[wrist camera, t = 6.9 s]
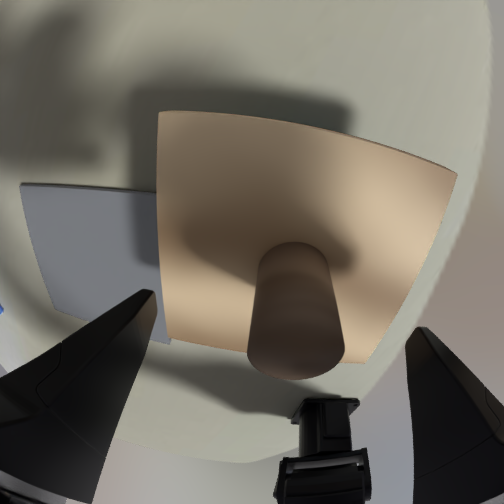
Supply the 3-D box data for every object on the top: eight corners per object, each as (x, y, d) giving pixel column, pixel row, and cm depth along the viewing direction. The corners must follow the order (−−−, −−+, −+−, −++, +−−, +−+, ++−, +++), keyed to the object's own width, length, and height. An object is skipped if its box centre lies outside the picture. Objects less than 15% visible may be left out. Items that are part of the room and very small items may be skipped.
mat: (170, 341, 22) (169, 344, 21) (57, 306, 22) (55, 309, 21) (159, 193, 15) (157, 195, 14) (22, 184, 15) (19, 185, 15)
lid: (362, 350, 14) (375, 425, 10) (173, 324, 14) (143, 399, 10) (445, 167, 9) (524, 220, 4) (169, 110, 9) (85, 128, 4)
